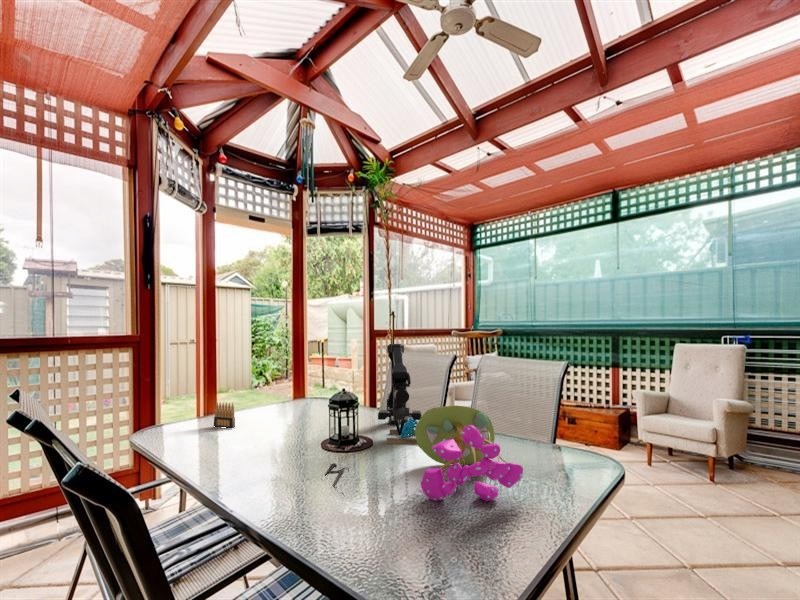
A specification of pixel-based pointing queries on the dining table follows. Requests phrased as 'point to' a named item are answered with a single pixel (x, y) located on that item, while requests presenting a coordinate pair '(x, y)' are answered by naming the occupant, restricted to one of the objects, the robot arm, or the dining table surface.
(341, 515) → the dining table surface
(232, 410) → the ammunition clip
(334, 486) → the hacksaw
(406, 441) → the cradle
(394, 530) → the dining table surface
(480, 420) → the pink berry cluster
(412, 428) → the blue flower
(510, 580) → the dining table surface
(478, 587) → the dining table surface
